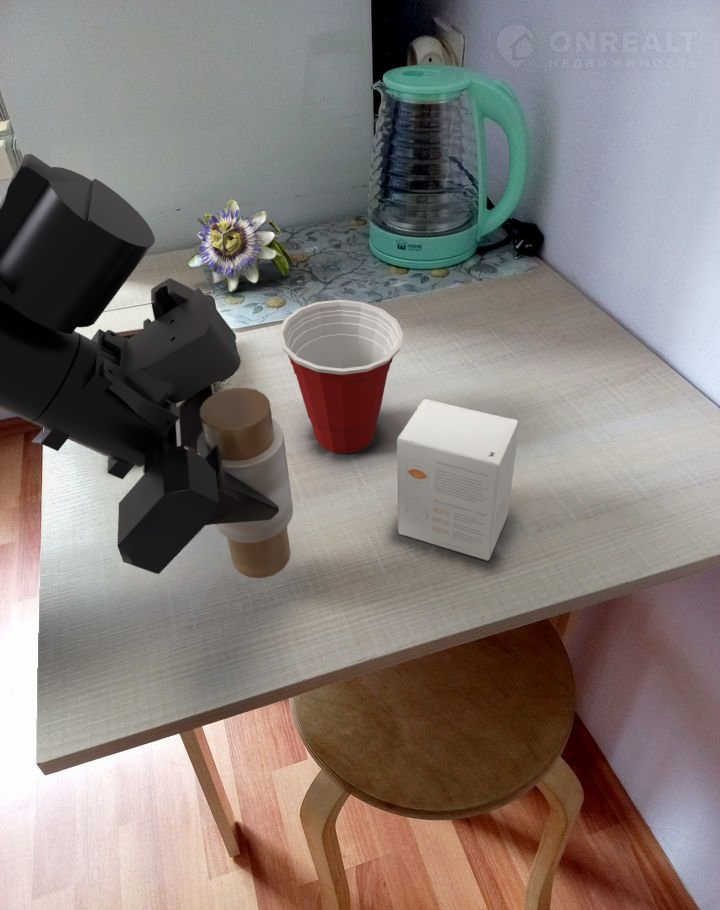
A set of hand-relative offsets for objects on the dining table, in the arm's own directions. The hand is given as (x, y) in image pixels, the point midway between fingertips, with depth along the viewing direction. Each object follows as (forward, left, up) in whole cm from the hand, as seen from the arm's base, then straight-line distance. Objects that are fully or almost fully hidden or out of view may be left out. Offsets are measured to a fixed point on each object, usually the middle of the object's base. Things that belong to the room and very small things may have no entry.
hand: (269, 484), depth 49 cm
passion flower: (+3, +53, -10) cm, 54 cm away
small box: (+15, +2, -10) cm, 18 cm away
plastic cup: (+9, +16, -10) cm, 21 cm away
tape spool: (-1, 0, -7) cm, 7 cm away
